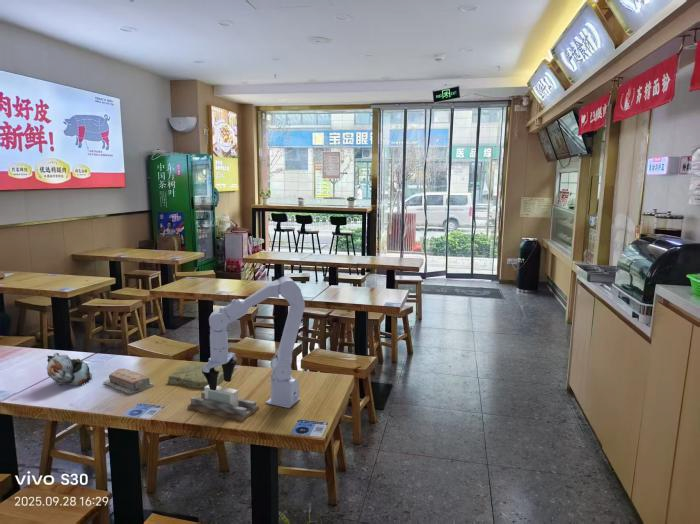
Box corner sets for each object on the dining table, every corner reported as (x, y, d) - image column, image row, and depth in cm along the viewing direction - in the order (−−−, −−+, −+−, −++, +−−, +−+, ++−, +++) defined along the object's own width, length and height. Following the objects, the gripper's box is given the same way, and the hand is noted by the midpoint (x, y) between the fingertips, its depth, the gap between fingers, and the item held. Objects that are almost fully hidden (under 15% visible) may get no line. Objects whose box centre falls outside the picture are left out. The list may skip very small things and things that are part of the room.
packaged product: (154, 374, 179) (130, 383, 170) (155, 386, 179) (130, 396, 171) (126, 364, 188) (102, 372, 180) (127, 376, 189) (103, 384, 181)
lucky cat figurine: (94, 383, 180) (75, 358, 172) (61, 400, 176) (40, 376, 168) (90, 361, 191) (72, 337, 183) (59, 377, 187) (39, 352, 179)
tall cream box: (238, 406, 160) (238, 390, 159) (233, 410, 158) (233, 393, 157) (210, 400, 165) (209, 384, 164) (204, 403, 162) (204, 387, 162)
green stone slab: (190, 368, 198) (189, 360, 198) (234, 372, 194) (234, 364, 194) (164, 386, 180) (163, 377, 180) (212, 391, 176) (212, 382, 176)
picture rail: (258, 408, 162) (258, 400, 161) (241, 421, 152) (241, 412, 152) (207, 396, 170) (206, 389, 170) (187, 408, 161) (187, 400, 160)
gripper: (223, 339, 167) (224, 375, 169) (194, 351, 153) (196, 391, 155) (239, 341, 164) (240, 379, 166) (212, 354, 151) (213, 395, 153)
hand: (220, 385), depth 160 cm, fingers open, 7 cm apart
